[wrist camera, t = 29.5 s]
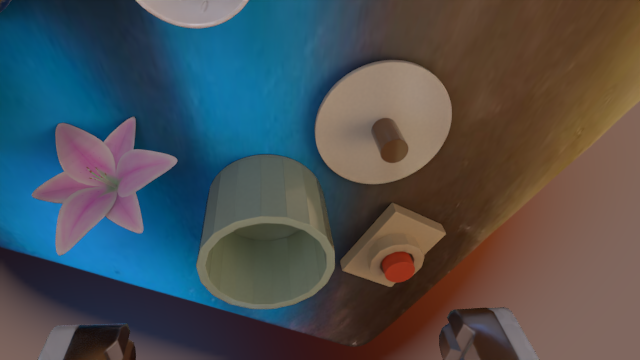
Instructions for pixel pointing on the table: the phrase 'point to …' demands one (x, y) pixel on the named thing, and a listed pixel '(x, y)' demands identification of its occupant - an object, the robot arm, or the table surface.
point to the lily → (99, 180)
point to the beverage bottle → (4, 4)
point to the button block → (392, 243)
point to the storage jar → (265, 234)
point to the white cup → (193, 11)
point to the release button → (398, 266)
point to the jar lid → (383, 121)
